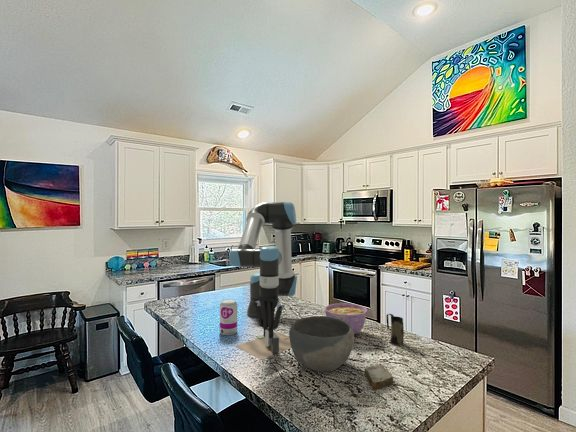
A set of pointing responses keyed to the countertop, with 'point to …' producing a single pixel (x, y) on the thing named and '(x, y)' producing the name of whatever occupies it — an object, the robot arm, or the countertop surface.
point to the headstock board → (259, 348)
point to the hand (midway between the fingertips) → (268, 345)
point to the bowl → (321, 342)
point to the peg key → (275, 343)
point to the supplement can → (228, 317)
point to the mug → (396, 330)
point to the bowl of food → (348, 314)
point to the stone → (378, 377)
